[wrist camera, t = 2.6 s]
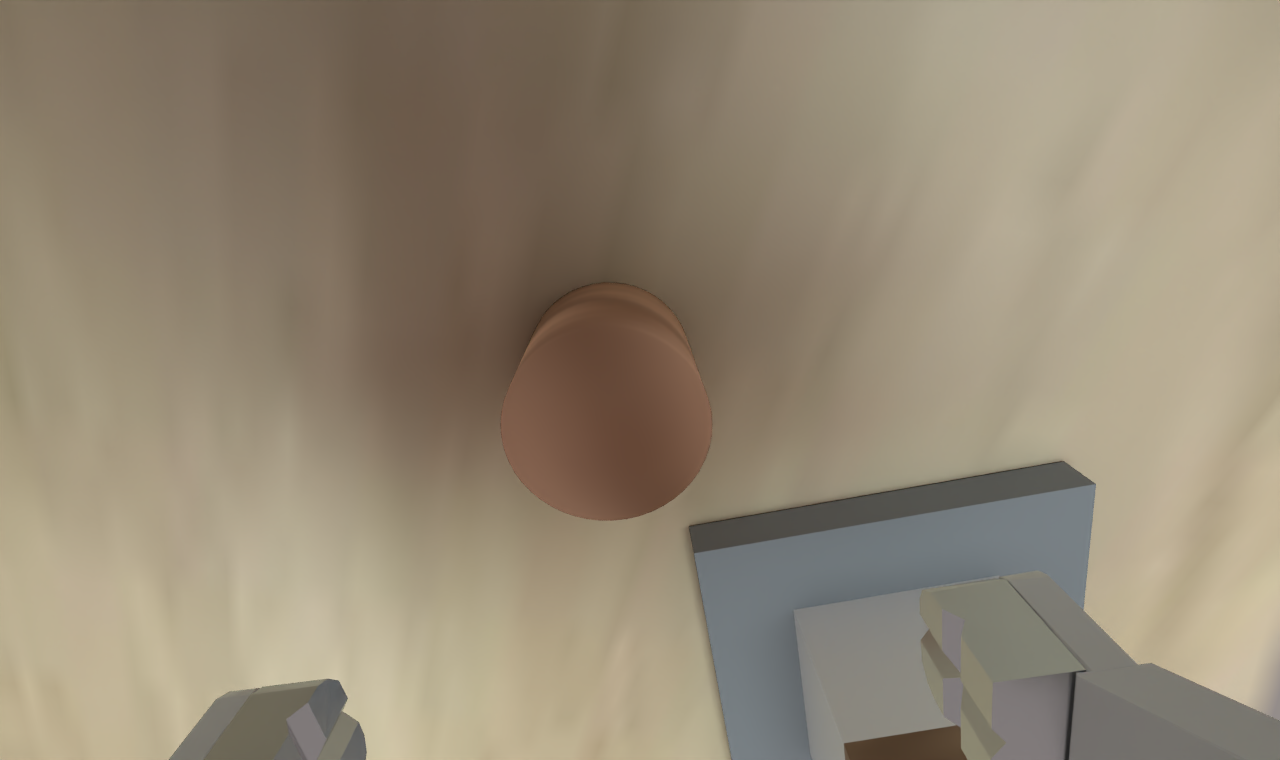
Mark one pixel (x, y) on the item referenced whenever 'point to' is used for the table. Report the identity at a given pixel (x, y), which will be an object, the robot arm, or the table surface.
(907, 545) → the blue-grey board
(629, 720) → the table surface
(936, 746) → the tan wooden block
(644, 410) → the brown rounded knob
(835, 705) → the grey tower block
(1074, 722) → the robot arm
